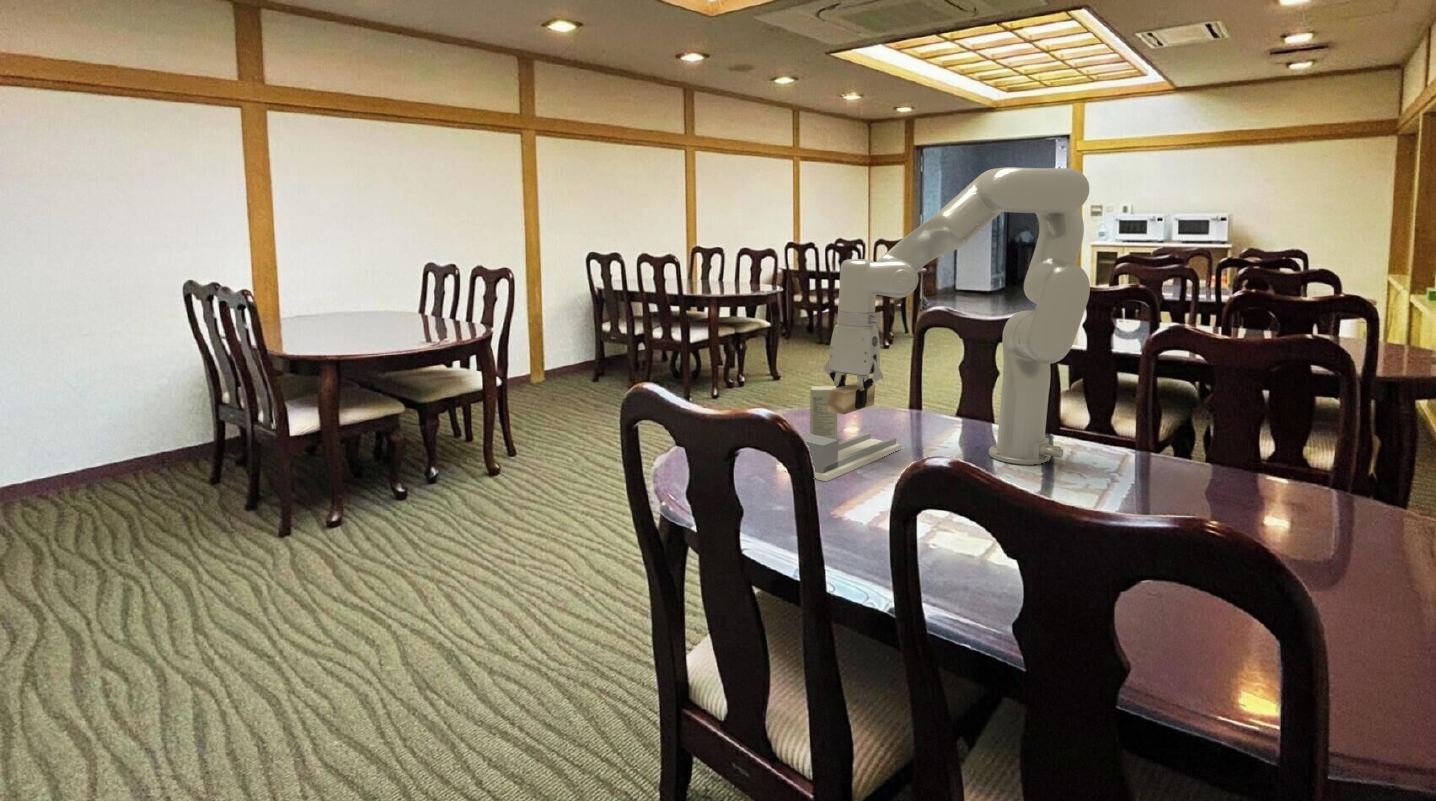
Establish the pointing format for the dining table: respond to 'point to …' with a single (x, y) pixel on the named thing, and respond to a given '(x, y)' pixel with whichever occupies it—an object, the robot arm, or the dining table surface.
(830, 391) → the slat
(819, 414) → the skincare box
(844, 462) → the board
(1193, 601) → the dining table surface
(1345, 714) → the dining table surface
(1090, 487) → the dining table surface
